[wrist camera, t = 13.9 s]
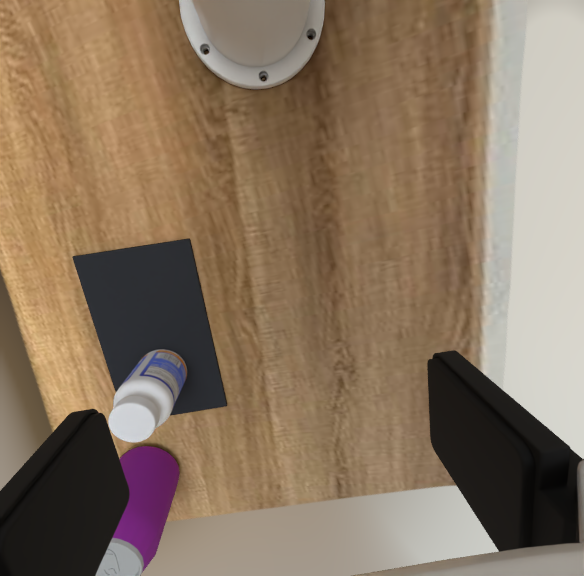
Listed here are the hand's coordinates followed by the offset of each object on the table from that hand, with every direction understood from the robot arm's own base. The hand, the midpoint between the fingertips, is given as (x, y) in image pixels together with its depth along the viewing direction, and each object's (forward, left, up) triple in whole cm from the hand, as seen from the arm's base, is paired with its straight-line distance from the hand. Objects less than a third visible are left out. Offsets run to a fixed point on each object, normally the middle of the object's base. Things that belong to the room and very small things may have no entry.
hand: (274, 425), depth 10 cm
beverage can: (+24, -19, -28) cm, 42 cm away
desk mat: (+7, -14, -28) cm, 32 cm away
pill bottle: (+11, -14, -28) cm, 33 cm away
